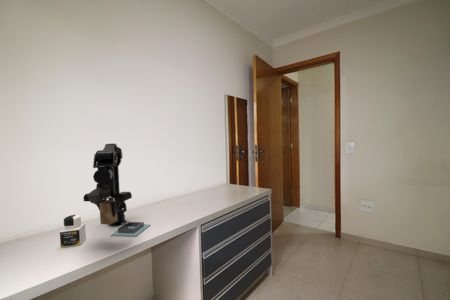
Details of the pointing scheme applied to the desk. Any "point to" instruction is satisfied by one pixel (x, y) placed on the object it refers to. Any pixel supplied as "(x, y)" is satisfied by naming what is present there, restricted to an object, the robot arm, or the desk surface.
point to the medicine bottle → (72, 231)
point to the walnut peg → (107, 213)
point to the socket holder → (131, 229)
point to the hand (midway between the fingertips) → (109, 216)
